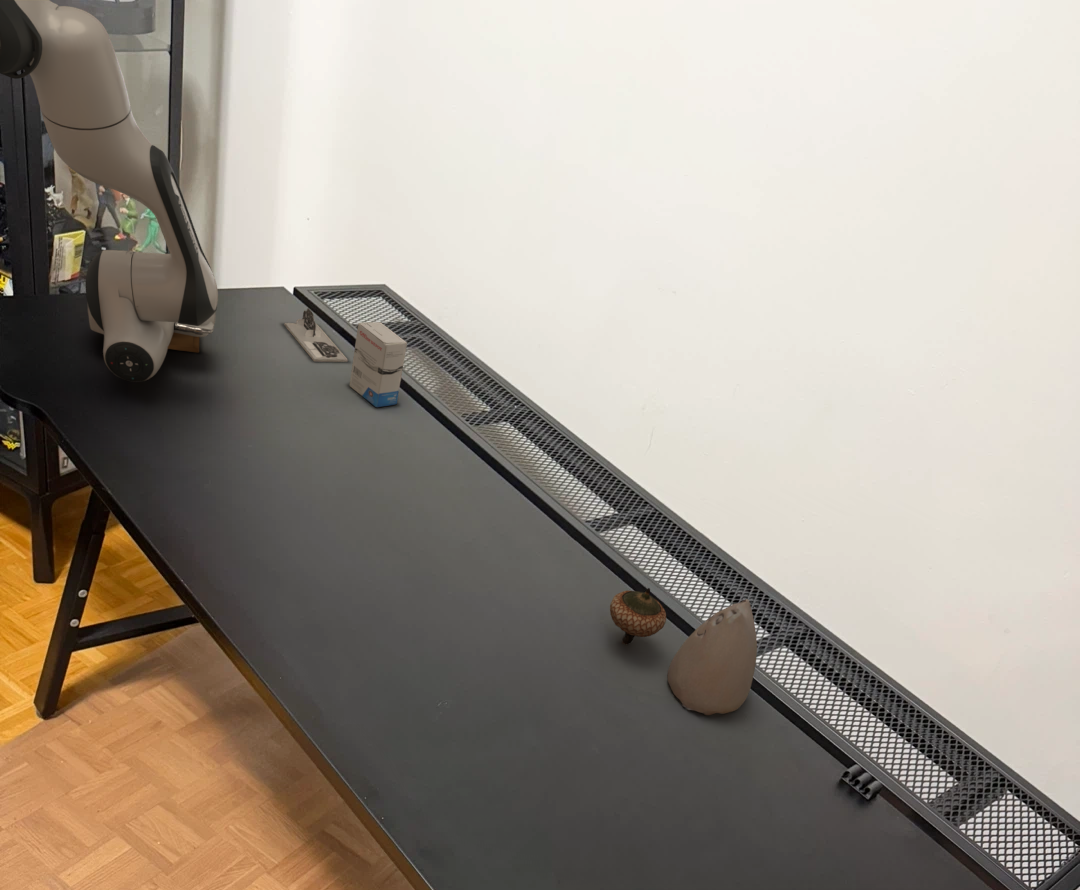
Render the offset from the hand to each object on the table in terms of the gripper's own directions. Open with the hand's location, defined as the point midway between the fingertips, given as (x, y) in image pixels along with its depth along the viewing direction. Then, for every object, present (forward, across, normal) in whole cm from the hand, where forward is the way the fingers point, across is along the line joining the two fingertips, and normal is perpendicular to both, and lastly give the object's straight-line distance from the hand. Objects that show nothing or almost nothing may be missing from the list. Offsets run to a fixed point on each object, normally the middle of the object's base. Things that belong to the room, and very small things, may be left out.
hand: (158, 290), depth 175 cm
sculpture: (-82, -84, +7) cm, 118 cm away
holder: (0, 0, +7) cm, 7 cm away
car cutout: (+8, -27, +7) cm, 29 cm away
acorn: (-74, -74, +7) cm, 105 cm away
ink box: (-10, -38, +7) cm, 40 cm away
